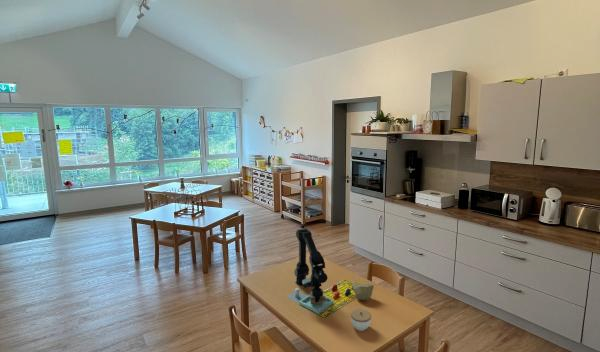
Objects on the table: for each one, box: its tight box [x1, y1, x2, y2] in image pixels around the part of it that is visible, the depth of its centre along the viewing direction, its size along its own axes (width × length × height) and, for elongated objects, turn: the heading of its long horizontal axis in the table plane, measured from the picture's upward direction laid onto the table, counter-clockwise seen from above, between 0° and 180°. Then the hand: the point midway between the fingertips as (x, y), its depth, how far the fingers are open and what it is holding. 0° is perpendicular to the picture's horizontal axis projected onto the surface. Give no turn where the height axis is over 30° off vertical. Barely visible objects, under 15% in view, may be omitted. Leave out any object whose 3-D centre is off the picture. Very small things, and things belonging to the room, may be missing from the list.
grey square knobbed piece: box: [286, 287, 308, 304], centre depth 210 cm, size 10×10×6 cm
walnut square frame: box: [309, 291, 325, 304], centre depth 201 cm, size 7×9×4 cm
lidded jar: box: [350, 308, 372, 332], centre depth 179 cm, size 11×11×9 cm
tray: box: [298, 294, 335, 315], centre depth 202 cm, size 15×15×2 cm
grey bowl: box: [350, 281, 374, 301], centre depth 208 cm, size 15×11×12 cm
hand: (316, 298), depth 202 cm, fingers closed on walnut square frame, 7 cm apart
